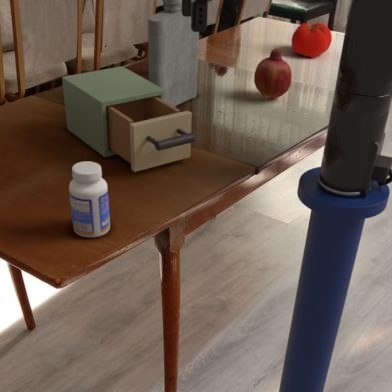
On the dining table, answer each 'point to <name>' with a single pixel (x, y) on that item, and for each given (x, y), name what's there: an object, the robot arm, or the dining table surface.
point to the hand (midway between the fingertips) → (193, 23)
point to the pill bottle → (89, 200)
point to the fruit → (273, 75)
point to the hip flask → (173, 53)
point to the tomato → (311, 39)
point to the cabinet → (101, 101)
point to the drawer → (149, 132)
